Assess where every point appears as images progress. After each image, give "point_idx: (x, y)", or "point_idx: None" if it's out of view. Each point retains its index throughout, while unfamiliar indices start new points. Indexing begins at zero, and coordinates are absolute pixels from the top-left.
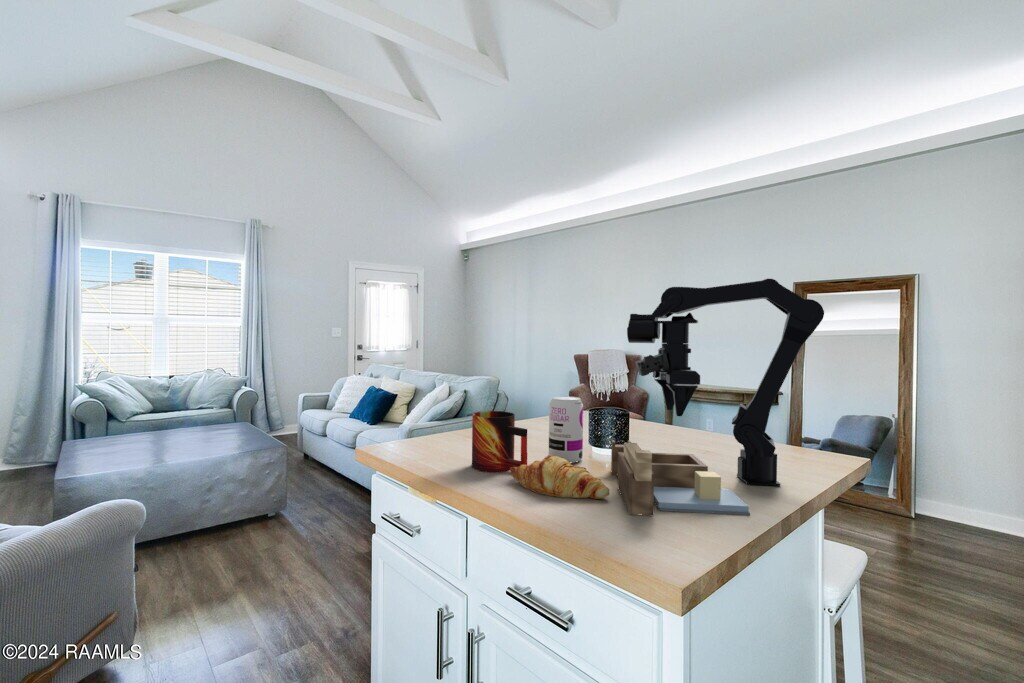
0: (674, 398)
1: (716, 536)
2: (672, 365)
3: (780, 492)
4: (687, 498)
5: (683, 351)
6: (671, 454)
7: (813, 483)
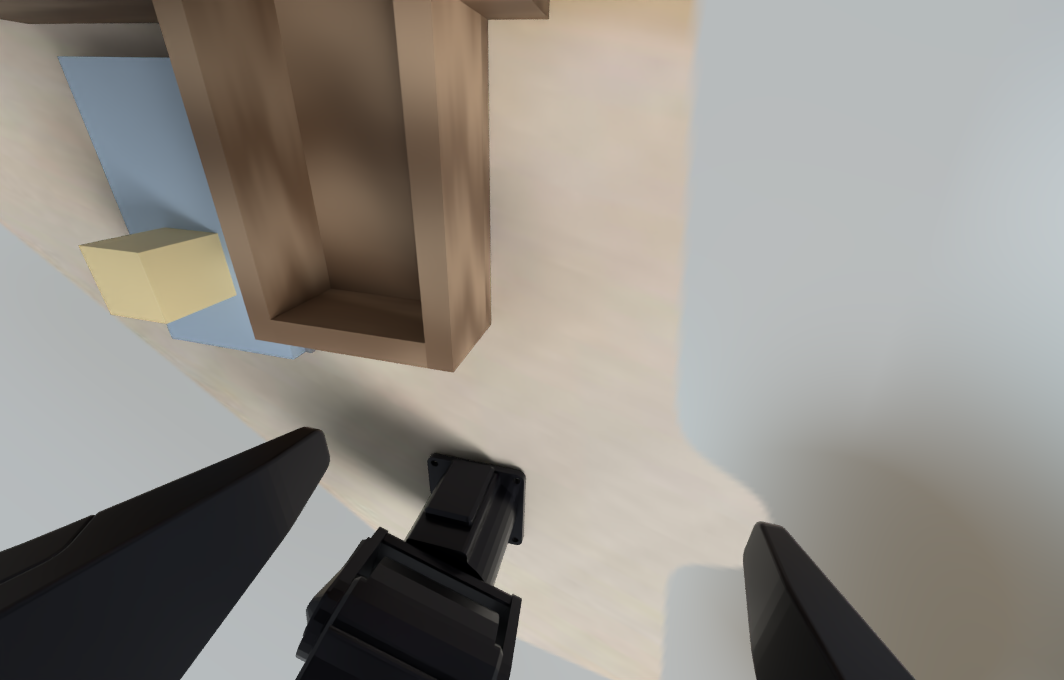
0: (41, 547)
1: (9, 182)
2: None
3: (388, 488)
4: (148, 184)
5: None
6: (423, 260)
7: None
